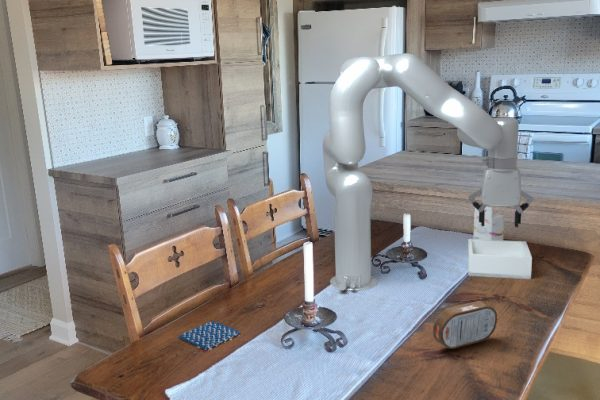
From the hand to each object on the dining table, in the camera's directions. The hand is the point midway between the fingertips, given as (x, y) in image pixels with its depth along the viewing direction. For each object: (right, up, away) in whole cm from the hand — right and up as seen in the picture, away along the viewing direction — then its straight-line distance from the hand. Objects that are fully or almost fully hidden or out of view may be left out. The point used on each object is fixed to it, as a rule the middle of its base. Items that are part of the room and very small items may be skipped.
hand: (499, 225), depth 160 cm
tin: (-21, -23, -40) cm, 51 cm away
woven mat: (-75, -24, -34) cm, 86 cm away
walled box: (0, -12, +3) cm, 13 cm away
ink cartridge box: (+3, -9, +18) cm, 21 cm away
